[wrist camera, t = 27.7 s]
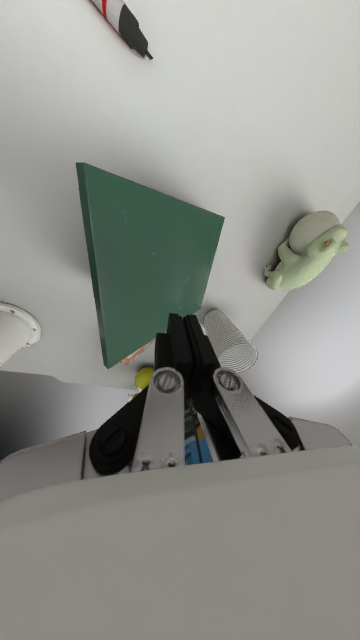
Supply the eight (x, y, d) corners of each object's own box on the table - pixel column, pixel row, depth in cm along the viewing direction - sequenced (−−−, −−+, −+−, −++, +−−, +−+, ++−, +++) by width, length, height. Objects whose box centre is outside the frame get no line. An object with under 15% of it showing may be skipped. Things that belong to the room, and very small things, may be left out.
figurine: (329, 215, 32) (389, 215, 24) (289, 288, 41) (322, 306, 33) (288, 207, 31) (338, 204, 22) (255, 285, 40) (282, 304, 31)
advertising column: (205, 379, 59) (241, 496, 34) (177, 387, 60) (192, 508, 35) (199, 361, 53) (238, 488, 28) (168, 370, 53) (179, 503, 29)
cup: (230, 324, 45) (260, 365, 33) (203, 334, 46) (222, 379, 34) (224, 300, 41) (256, 338, 28) (194, 312, 42) (212, 354, 29)
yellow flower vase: (136, 376, 53) (131, 412, 43) (136, 362, 49) (131, 398, 39) (156, 376, 54) (156, 411, 44) (158, 362, 50) (159, 398, 41)
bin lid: (103, 365, 16) (108, 369, 16) (74, 161, 8) (83, 161, 8) (196, 307, 31) (200, 308, 31) (220, 216, 23) (225, 217, 23)
